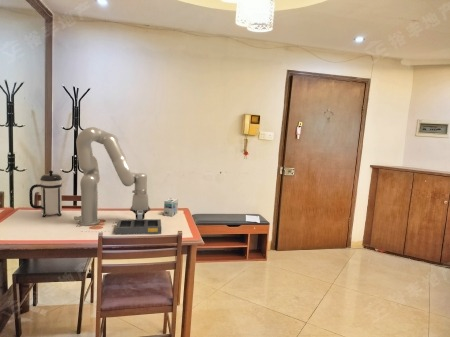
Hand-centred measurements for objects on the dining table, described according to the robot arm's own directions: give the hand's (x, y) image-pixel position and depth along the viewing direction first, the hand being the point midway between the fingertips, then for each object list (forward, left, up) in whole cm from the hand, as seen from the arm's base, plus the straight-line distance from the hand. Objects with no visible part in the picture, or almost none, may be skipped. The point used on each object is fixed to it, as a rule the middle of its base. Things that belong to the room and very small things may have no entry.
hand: (140, 219), depth 214 cm
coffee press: (-59, +18, -2) cm, 62 cm away
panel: (0, 0, -2) cm, 2 cm away
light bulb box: (+21, +18, -2) cm, 28 cm away
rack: (0, -15, -2) cm, 15 cm away
